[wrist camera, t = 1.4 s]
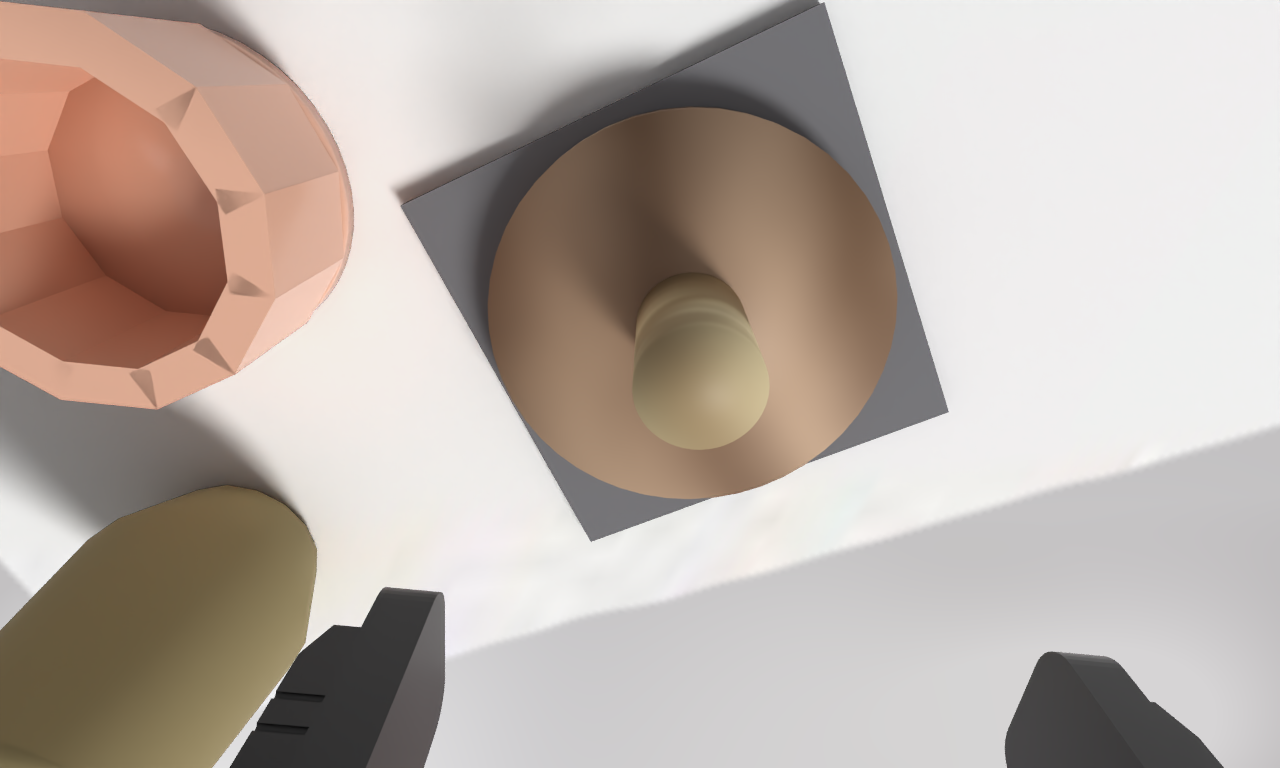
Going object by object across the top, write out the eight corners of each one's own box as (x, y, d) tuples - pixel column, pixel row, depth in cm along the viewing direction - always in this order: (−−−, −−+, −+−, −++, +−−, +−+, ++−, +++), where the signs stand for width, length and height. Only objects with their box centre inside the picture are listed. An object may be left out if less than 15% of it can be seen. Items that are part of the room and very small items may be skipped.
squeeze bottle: (369, 499, 28) (-53, 1132, 11) (323, 646, 31) (-61, 1314, 14) (157, 427, 27) (-661, 1009, 10) (132, 587, 30) (-528, 1235, 13)
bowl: (229, -44, 20) (89, -82, 15) (411, 270, 24) (347, 323, 19) (-33, 108, 22) (-235, 119, 17) (174, 380, 26) (57, 454, 21)
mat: (820, 3, 21) (824, 1, 20) (943, 405, 26) (948, 412, 25) (405, 203, 23) (400, 205, 23) (592, 534, 28) (590, 541, 28)
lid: (812, 28, 20) (874, 11, 15) (930, 405, 25) (1012, 502, 19) (422, 213, 23) (345, 260, 17) (597, 527, 27) (582, 646, 22)
